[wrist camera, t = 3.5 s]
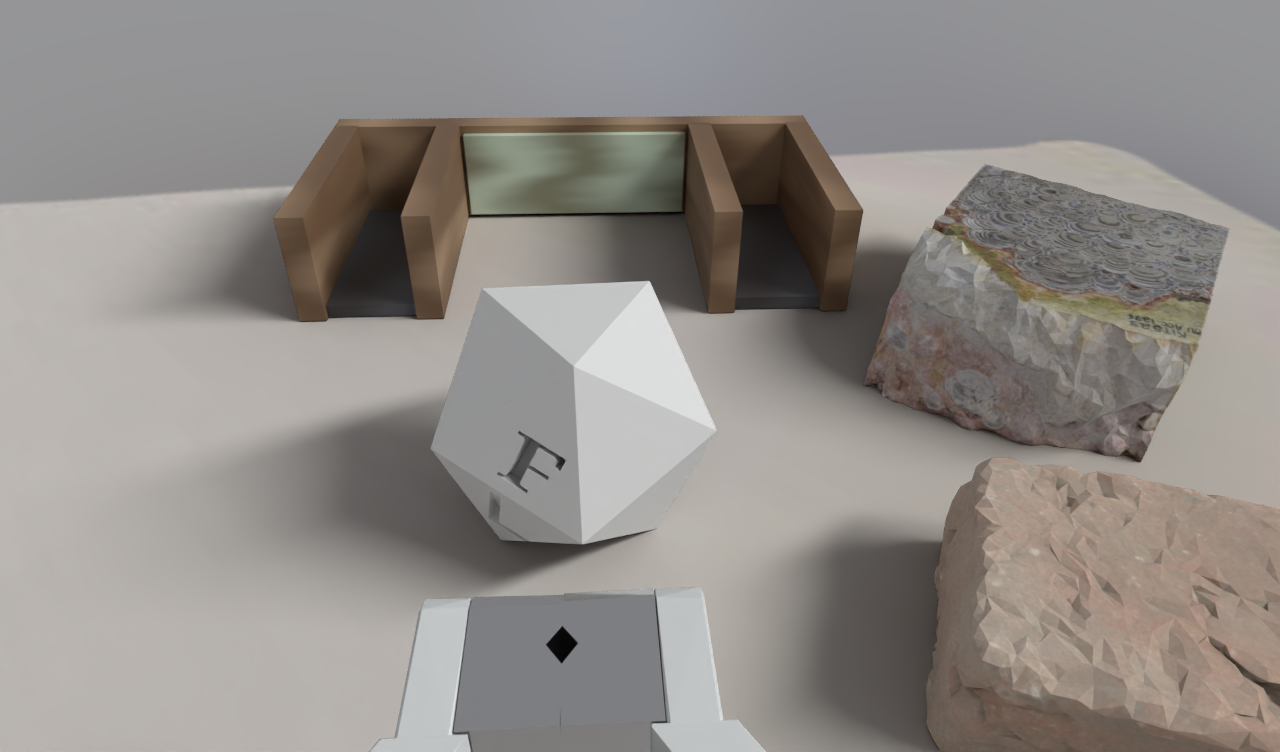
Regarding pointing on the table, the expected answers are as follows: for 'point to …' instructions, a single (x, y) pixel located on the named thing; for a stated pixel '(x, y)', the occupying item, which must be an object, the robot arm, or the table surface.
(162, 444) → the table surface
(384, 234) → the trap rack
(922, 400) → the geological specimen
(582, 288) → the die
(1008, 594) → the brick
